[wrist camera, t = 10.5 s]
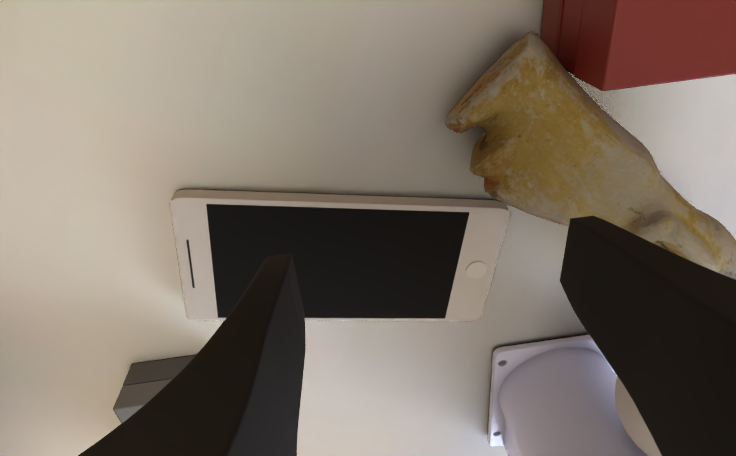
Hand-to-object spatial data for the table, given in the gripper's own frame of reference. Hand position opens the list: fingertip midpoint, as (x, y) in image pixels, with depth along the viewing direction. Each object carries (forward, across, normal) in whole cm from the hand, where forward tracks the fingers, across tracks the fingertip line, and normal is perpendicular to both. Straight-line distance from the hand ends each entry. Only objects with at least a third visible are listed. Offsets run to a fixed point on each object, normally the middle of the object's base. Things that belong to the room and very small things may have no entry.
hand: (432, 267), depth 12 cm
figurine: (+9, -9, +3) cm, 13 cm away
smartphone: (+10, +3, +6) cm, 12 cm away
